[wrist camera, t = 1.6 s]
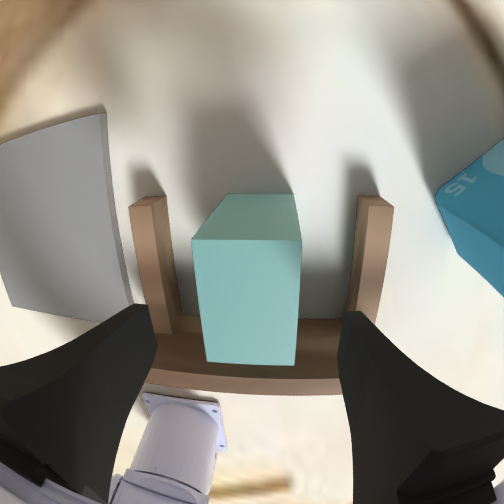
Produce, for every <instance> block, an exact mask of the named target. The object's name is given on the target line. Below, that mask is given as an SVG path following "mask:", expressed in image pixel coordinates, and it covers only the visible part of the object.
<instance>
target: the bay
mask: <svg viewBox="0 0 504 504" xmlns="http://www.w3.org/2000/svg"><path fill="white" fill-rule="evenodd" d="M393 213H394V207H393V206H392V205H391V204H390V203H388V202H387V201H386V200H384V199H383V198H382V197H376V196H358V204H357V217H356V229H355V240H354V249H353V259H352V267H351V275H350V283H349V290H348V297H347V304H346V310H345V311H362V312H363V313H364V314H365V315H366V316H367V318H368V319H369V320H370V321H371V322H372V323H373V324H374V325H375V321H376V316H377V312H378V307H379V302H380V297H381V292H382V287H383V281H384V276H385V270H386V264H387V258H388V251H389V245H390V237H391V230H392V221H393ZM129 215H130V222H131V228H132V235H133V241H134V247H135V252H136V258H137V263H138V269H139V274H140V279H141V284H142V289H143V293H144V298H145V302H146V305H148V307H149V312H150V316H151V320H152V324H153V329H154V333H155V336H156V340H157V344H158V348H157V351H156V354H155V358H154V361H153V364H152V367H151V369H150V371H149V373H148V375H147V377H146V380H145V383H151V384H157V385H164V386H171V387H178V388H186V389H194V390H203V391H213V392H224V393H237V394H254V395H288V396H309V395H341V394H343V393H342V388H341V384H340V379H339V371H338V361H337V351H338V346H339V340H340V335H341V329H342V323H343V319H298V324H297V338H296V351H295V363H294V366H289V365H253V364H234V363H219V362H207V357H206V351H205V344H204V338H203V331H202V324H201V317H200V316H197V315H182V310H181V304H180V298H179V292H178V285H177V279H176V272H175V265H174V258H173V250H172V243H171V235H170V226H169V217H168V208H167V198H166V196H153V197H144V198H143V199H141V200H139V201H137V202H136V203H134V204H132V205H130V206H129Z"/></svg>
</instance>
